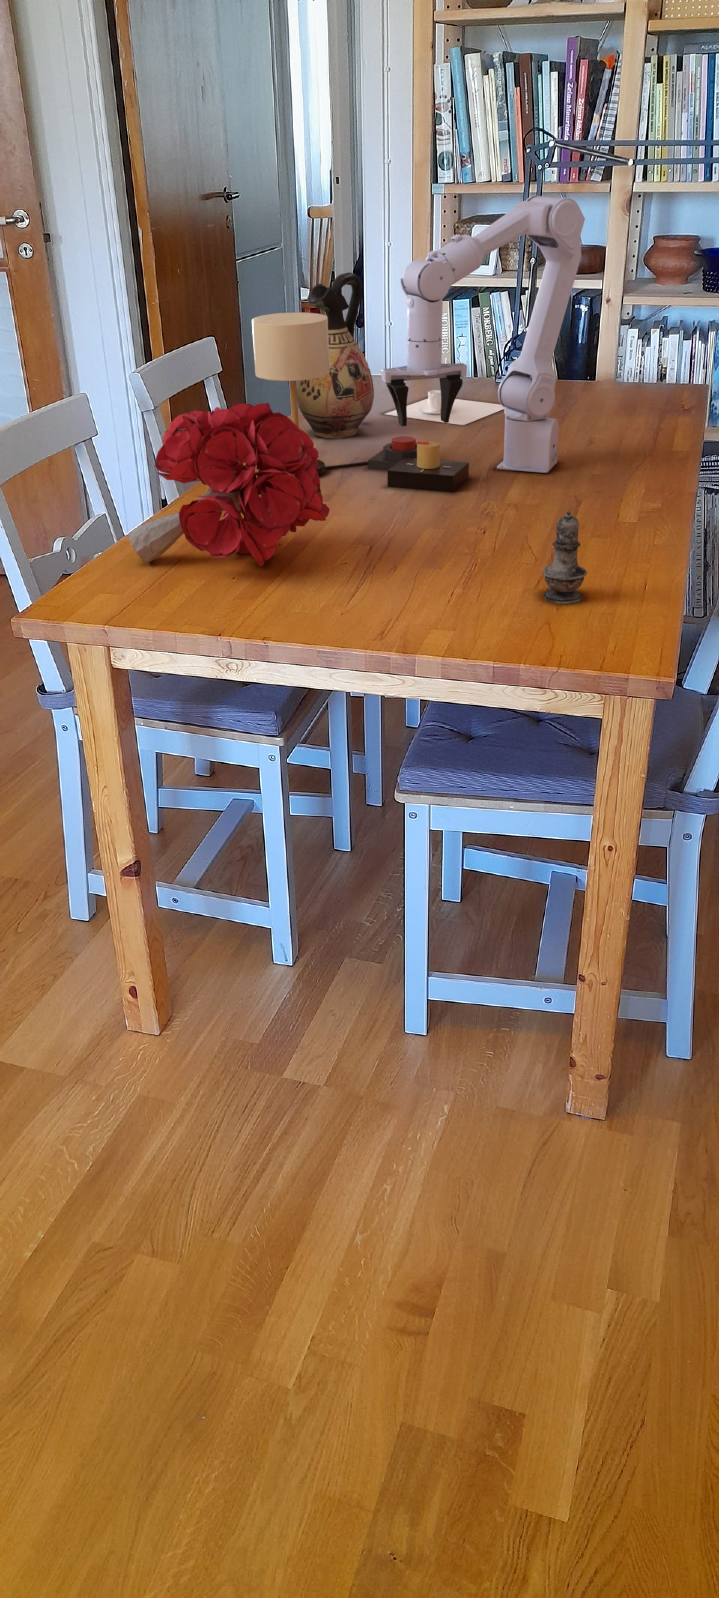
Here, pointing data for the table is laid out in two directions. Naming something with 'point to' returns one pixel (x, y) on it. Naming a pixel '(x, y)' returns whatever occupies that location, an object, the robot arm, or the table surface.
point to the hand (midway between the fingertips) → (423, 423)
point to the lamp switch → (403, 443)
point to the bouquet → (236, 483)
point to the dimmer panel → (428, 476)
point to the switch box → (390, 457)
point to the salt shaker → (565, 564)
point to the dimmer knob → (428, 454)
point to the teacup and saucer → (459, 414)
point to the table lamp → (293, 354)
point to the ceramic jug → (338, 367)
